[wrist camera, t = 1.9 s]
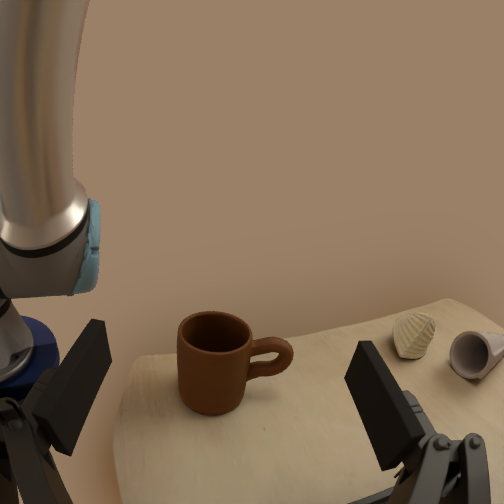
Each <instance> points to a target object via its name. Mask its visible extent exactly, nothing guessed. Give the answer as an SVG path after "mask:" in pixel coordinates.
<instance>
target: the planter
mask: <svg viewBox="0 0 504 504" xmlns="http://www.w3.org/2000/svg"><path fill="white" fill-rule="evenodd" d="M503 356H504V335H501V334H492V333H484V332H477V331H466V332H463V333H461V334H460V335H458V336H457V337H456V338H455V339H454V341H453V343H452V345H451V348H450V362H451V365H452V367H453V368H454V370H455V371H456V372H457V373H458V374H459V375H460V376H462V377H464V378H469V379H473V378H479V379H482V378H483V377H484V376H485V375H486V374H487V373H488V372H489V371H490V370H491V369H492V368H493V367H494V366H495V365H496V363H497V362H498V361H499V360H500V359H501V358H502V357H503Z"/></svg>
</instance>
